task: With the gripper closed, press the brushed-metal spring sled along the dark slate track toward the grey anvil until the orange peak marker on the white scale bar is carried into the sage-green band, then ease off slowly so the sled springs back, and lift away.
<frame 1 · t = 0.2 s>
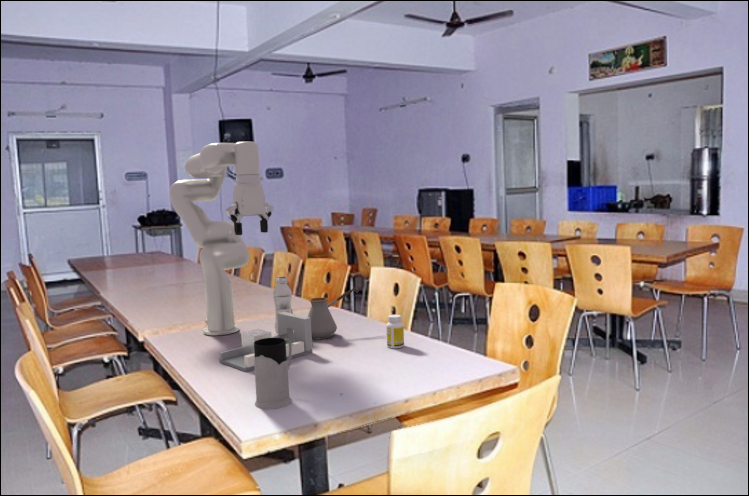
hand: (251, 233, 195), 36 cm above the table, tool pointing down, fingers open, 9 cm apart
plunger: (271, 342, 182), point 5 cm above the table, slide at 0.0 cm
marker: (270, 344, 176), point 6 cm above the table, slide at 0.0 cm
plastic bottle: (284, 334, 210), on the table
coffee pot: (333, 334, 208), on the table
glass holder: (278, 399, 148), on the table
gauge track: (267, 357, 183), on the table
hand bell: (286, 323, 227), on the table
supplement bottle: (395, 347, 189), on the table
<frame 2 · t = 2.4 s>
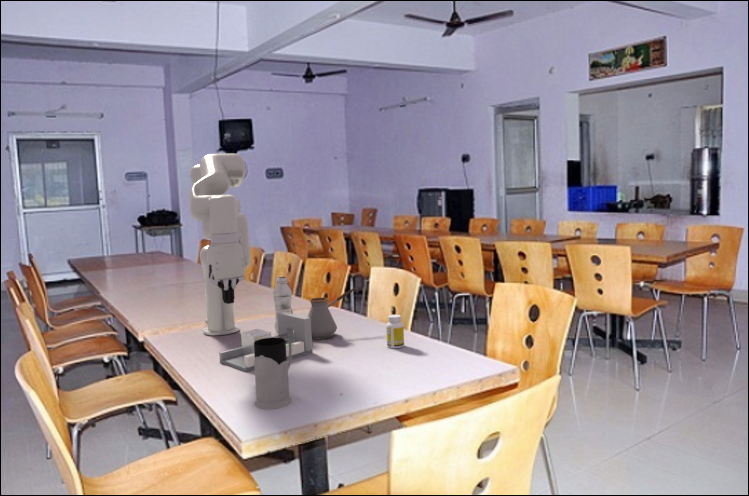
hand: (228, 302, 173), 19 cm above the table, tool pointing down, fingers closed
nothing on the table moved.
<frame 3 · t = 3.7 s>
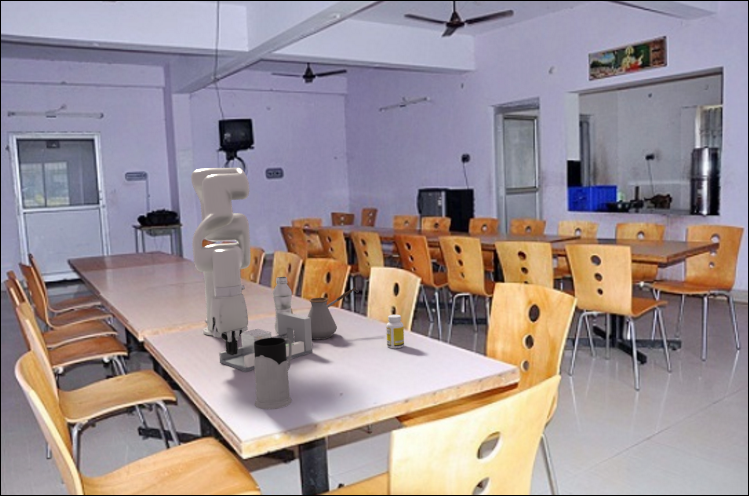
hand: (232, 353, 174), 4 cm above the table, tool pointing down, fingers closed
nothing on the table moved.
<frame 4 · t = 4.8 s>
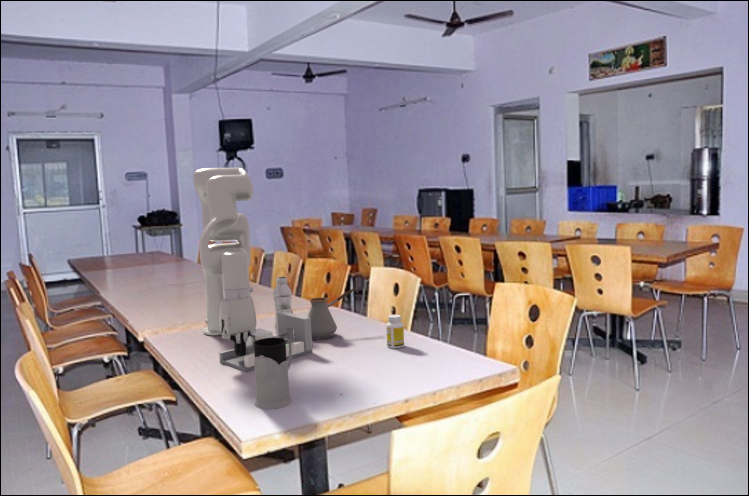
hand: (240, 355, 177), 3 cm above the table, tool pointing down, fingers closed
plunger: (273, 341, 182), point 5 cm above the table, slide at 0.5 cm, touching gripper, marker
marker: (270, 344, 176), point 6 cm above the table, slide at 0.1 cm, touching plunger
everything else where it was.
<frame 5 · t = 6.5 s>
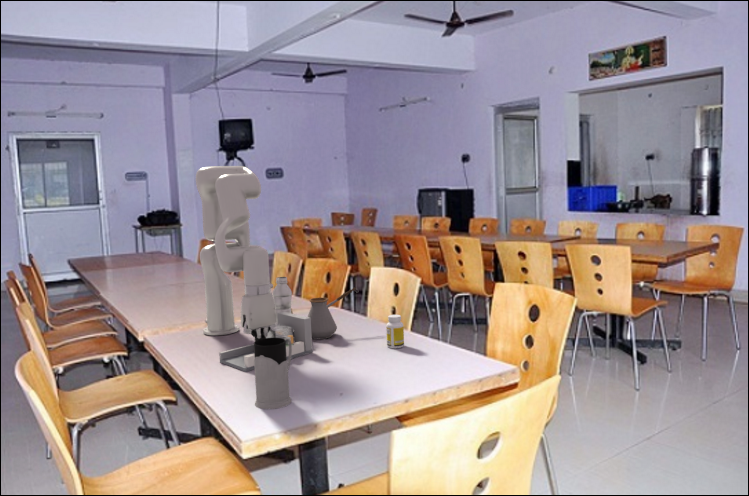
hand: (261, 349, 182), 3 cm above the table, tool pointing down, fingers closed
plunger: (291, 336, 187), point 5 cm above the table, slide at 7.6 cm, touching gripper, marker
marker: (290, 339, 181), point 6 cm above the table, slide at 7.1 cm, touching plunger
everything else where it was.
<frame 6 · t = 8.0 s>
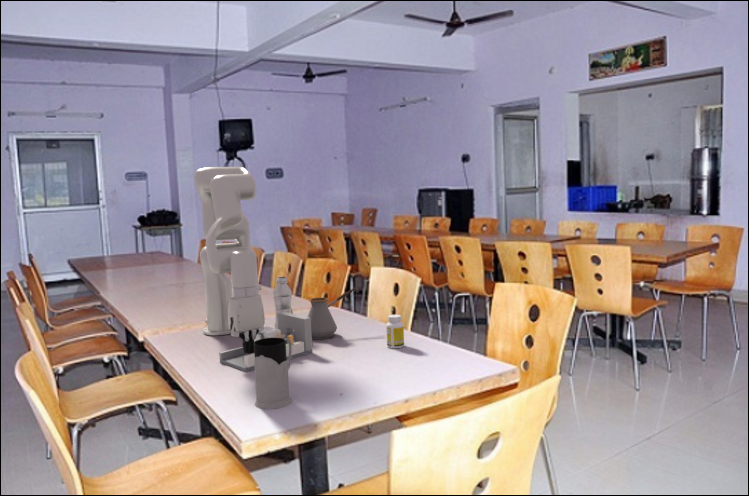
hand: (249, 352, 179), 3 cm above the table, tool pointing down, fingers closed
plunger: (280, 339, 184), point 5 cm above the table, slide at 3.4 cm, touching gripper
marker: (290, 339, 181), point 6 cm above the table, slide at 7.2 cm
everything else where it was.
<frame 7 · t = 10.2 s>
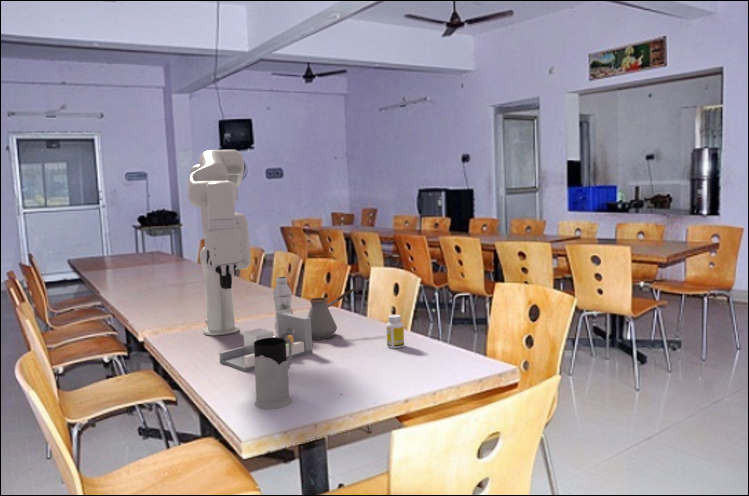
hand: (226, 288, 174), 23 cm above the table, tool pointing down, fingers closed
plunger: (273, 341, 182), point 5 cm above the table, slide at 0.8 cm
everything else where it was.
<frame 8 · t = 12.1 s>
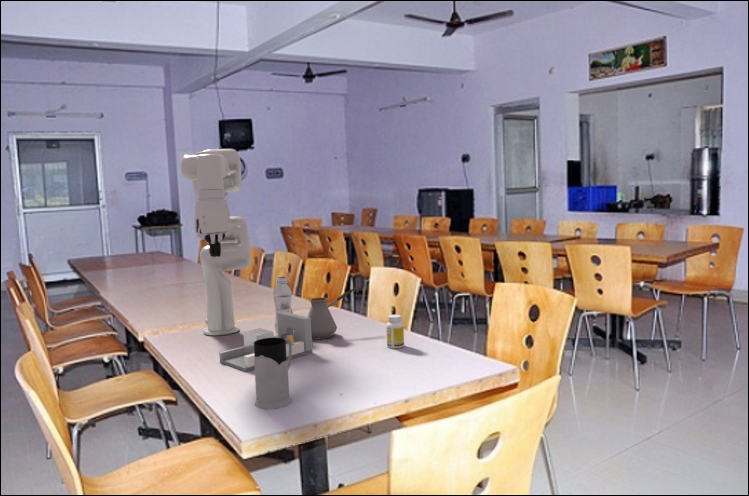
hand: (215, 256, 182), 31 cm above the table, tool pointing down, fingers closed
nothing on the table moved.
at the end: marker slide at 7.2 cm; plunger slide at 0.8 cm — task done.
